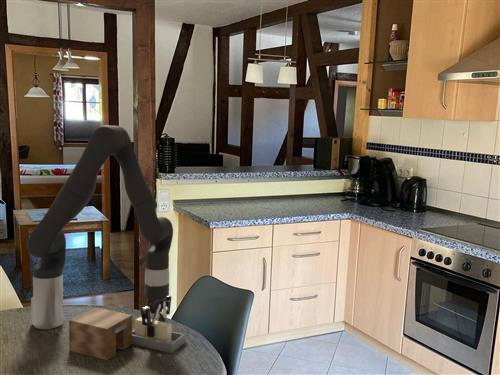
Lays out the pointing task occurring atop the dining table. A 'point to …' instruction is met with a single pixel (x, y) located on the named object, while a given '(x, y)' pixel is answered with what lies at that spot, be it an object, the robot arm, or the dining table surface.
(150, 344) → the tray
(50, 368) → the dining table surface
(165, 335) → the cream rectangular block
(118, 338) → the wooden block
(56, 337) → the dining table surface
